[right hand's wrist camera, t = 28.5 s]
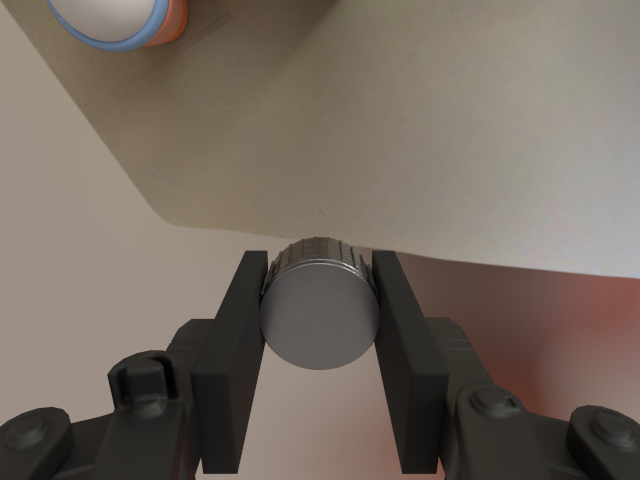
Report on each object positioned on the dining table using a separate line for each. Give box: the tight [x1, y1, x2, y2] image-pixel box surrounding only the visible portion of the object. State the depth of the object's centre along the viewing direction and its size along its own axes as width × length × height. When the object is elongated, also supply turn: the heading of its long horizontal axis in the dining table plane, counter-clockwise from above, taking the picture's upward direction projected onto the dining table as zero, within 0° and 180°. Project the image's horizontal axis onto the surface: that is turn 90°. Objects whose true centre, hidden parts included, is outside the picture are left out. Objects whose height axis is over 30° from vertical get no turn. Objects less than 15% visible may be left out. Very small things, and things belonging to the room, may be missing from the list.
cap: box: [259, 237, 380, 370], centre depth 13 cm, size 4×4×2 cm
